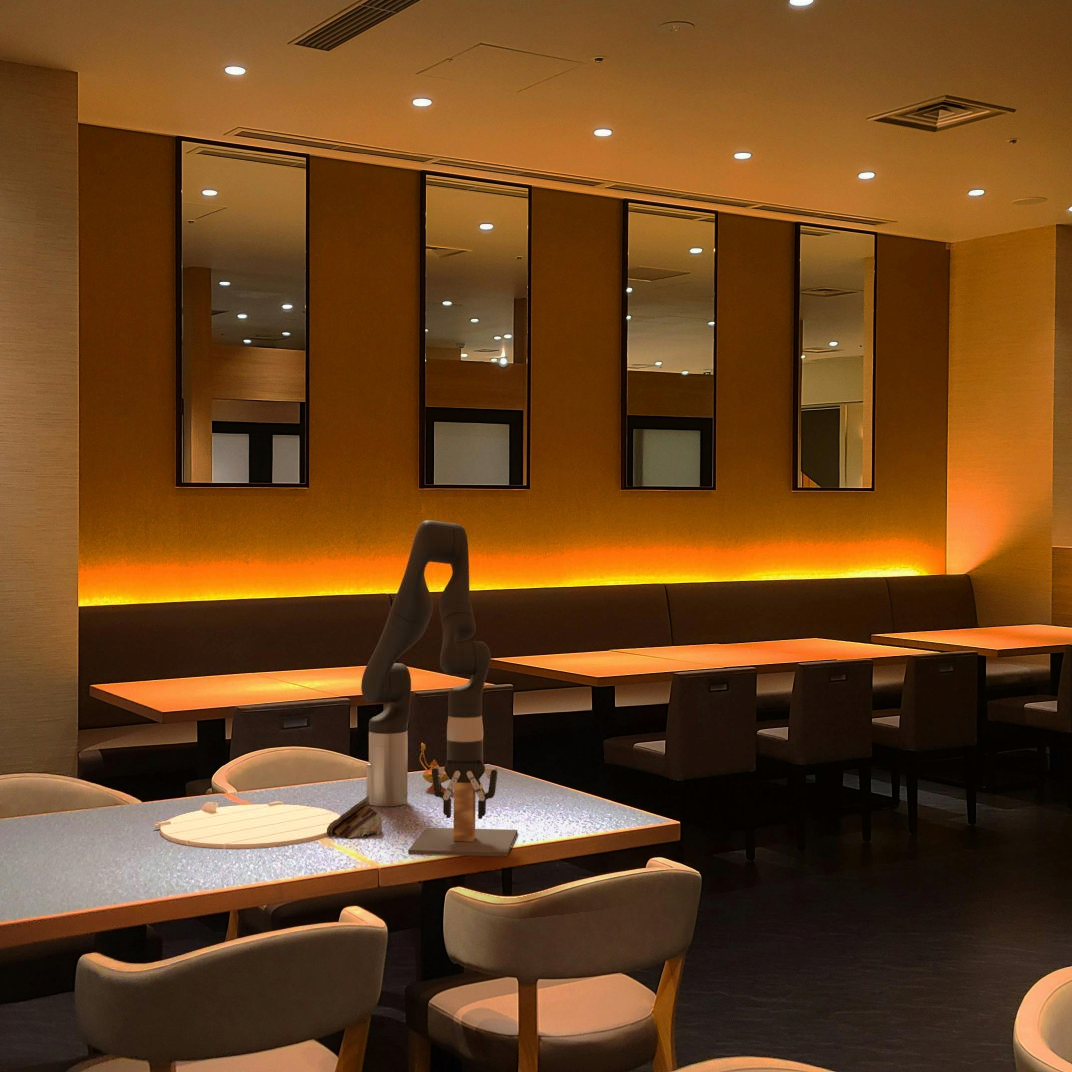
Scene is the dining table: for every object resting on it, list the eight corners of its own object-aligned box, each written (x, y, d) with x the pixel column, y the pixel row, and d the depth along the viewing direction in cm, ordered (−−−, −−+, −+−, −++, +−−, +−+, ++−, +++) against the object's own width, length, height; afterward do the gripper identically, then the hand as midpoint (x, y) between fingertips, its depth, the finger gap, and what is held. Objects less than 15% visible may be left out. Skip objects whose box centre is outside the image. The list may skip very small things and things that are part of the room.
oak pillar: (453, 841, 271) (453, 782, 271) (456, 837, 275) (456, 779, 275) (472, 841, 270) (472, 783, 271) (475, 837, 274) (475, 780, 275)
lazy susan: (124, 827, 287) (124, 812, 287) (273, 801, 316) (273, 787, 315) (226, 859, 260) (226, 842, 260) (379, 828, 288) (379, 812, 288)
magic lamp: (450, 798, 318) (450, 753, 318) (408, 787, 332) (408, 743, 332) (472, 794, 323) (473, 750, 323) (430, 783, 337) (430, 741, 337)
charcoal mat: (408, 853, 263) (408, 849, 263) (425, 831, 283) (425, 827, 283) (507, 856, 262) (507, 852, 262) (517, 833, 282) (517, 829, 282)
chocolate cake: (344, 845, 273) (382, 800, 278) (323, 830, 278) (360, 787, 283) (363, 867, 280) (399, 823, 285) (342, 852, 284) (378, 810, 289)
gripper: (427, 739, 269) (427, 821, 269) (497, 740, 268) (496, 822, 268) (433, 733, 277) (433, 813, 277) (501, 735, 275) (501, 814, 276)
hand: (464, 817), depth 272 cm, fingers open, 6 cm apart
